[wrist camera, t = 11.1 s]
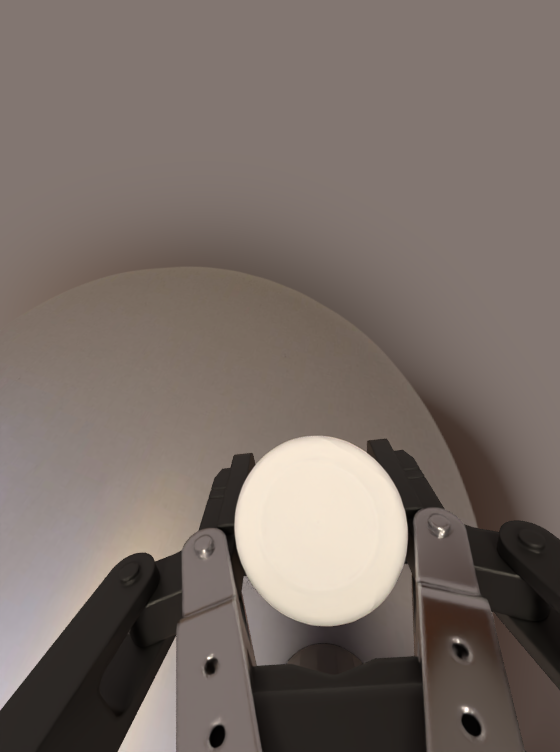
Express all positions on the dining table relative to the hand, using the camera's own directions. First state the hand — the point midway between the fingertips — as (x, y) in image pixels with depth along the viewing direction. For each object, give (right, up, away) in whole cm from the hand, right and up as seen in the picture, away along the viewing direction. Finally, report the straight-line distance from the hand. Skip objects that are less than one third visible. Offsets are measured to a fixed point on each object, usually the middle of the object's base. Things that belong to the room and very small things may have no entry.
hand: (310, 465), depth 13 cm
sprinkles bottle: (+1, -5, +8) cm, 9 cm away
